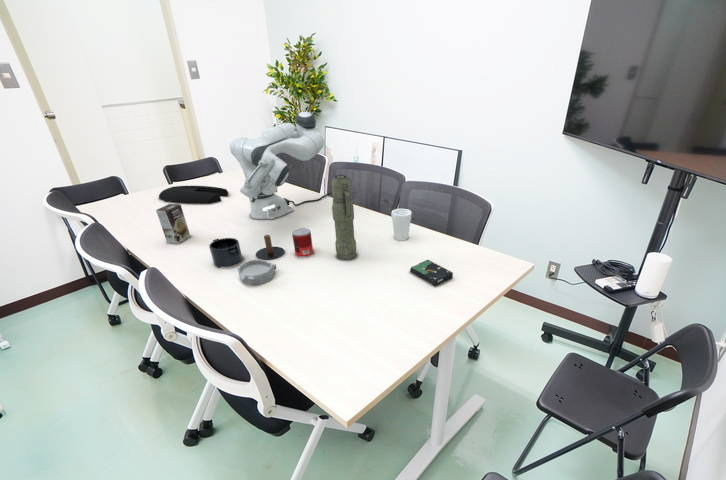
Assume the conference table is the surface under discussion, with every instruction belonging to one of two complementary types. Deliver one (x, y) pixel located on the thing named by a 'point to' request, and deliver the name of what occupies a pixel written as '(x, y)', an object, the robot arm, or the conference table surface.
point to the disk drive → (431, 272)
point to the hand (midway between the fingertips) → (253, 171)
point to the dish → (256, 271)
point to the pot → (225, 252)
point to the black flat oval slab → (193, 194)
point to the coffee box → (173, 223)
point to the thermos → (343, 218)
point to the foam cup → (401, 223)
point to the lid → (269, 250)
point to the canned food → (302, 242)
